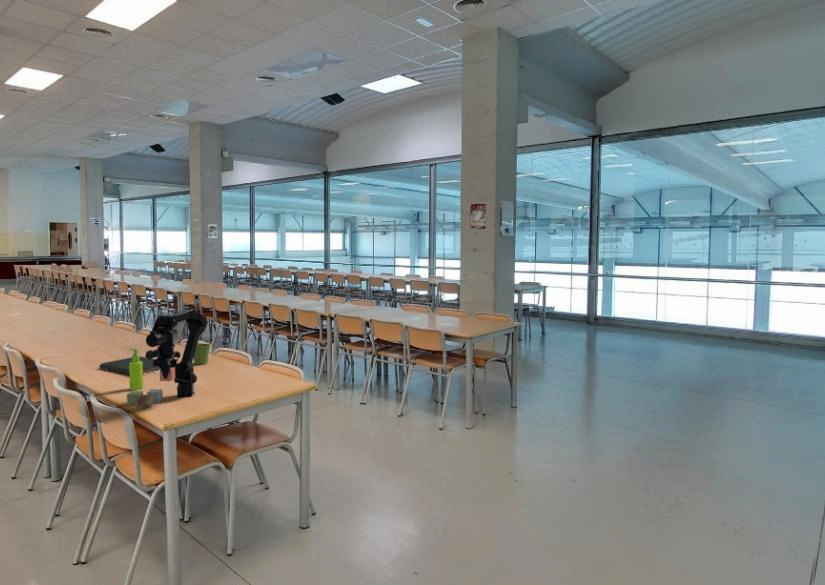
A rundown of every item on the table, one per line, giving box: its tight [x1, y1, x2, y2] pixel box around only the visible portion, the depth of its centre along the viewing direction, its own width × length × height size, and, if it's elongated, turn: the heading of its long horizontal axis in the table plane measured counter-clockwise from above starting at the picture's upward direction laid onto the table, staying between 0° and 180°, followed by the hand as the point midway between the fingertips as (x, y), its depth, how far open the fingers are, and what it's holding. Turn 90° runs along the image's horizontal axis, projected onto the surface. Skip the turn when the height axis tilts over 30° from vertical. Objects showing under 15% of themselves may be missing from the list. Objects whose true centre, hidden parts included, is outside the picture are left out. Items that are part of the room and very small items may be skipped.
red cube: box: [159, 367, 175, 382], centre depth 242 cm, size 5×5×5 cm
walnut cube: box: [136, 394, 154, 410], centre depth 237 cm, size 5×5×5 cm
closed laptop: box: [99, 355, 160, 376], centre depth 309 cm, size 33×4×24 cm
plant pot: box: [193, 343, 212, 365], centre depth 323 cm, size 12×12×11 cm
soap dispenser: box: [126, 347, 144, 391], centre depth 266 cm, size 6×7×20 cm
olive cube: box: [126, 390, 144, 406], centre depth 242 cm, size 5×5×5 cm
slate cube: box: [146, 388, 164, 403], centre depth 246 cm, size 5×5×5 cm
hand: (167, 377), depth 242 cm, fingers closed on red cube, 5 cm apart
